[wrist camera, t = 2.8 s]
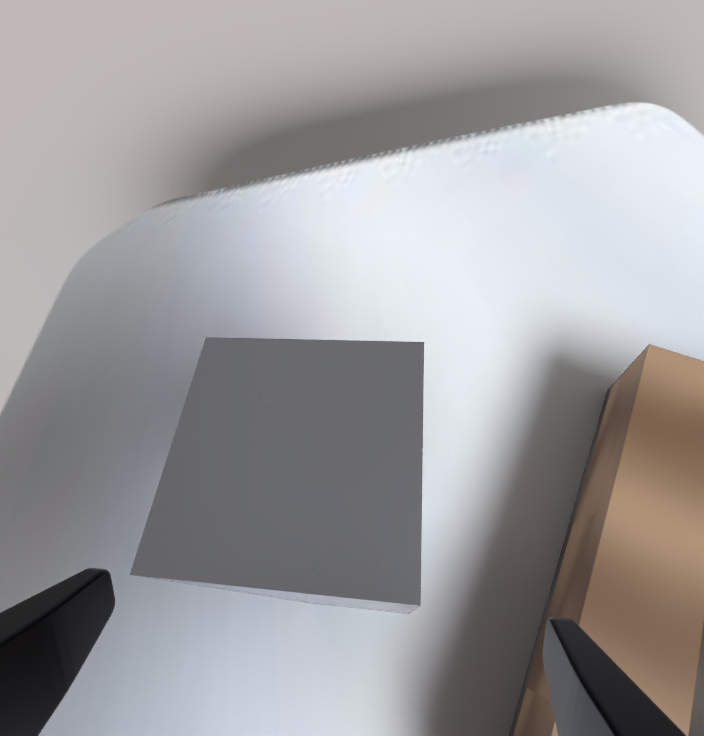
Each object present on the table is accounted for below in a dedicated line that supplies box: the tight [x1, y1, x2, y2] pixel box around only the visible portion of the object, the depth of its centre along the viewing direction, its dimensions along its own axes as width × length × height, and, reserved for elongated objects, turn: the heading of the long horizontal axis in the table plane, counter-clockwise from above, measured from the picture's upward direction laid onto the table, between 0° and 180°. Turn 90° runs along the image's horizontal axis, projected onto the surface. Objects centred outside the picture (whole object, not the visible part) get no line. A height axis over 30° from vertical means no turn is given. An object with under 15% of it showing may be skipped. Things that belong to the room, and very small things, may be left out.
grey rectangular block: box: [130, 337, 424, 614], centre depth 12 cm, size 4×4×13 cm
